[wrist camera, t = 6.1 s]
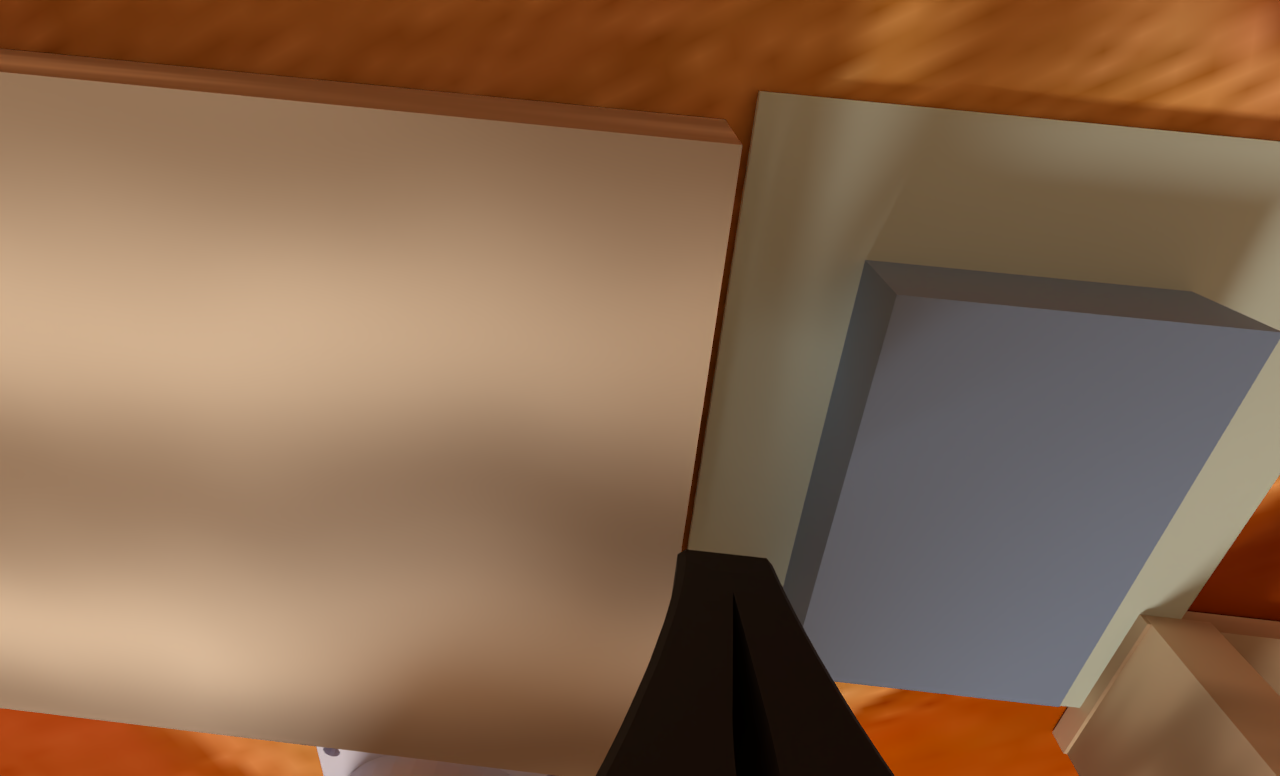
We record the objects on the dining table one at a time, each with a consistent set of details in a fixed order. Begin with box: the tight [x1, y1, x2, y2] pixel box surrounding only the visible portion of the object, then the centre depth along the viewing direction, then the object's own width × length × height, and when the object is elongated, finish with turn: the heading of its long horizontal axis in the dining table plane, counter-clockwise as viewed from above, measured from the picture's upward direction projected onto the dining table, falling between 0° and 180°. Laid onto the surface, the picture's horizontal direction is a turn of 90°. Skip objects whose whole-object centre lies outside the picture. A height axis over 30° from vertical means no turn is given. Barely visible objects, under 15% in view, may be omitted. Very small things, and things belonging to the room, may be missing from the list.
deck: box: [0, 48, 743, 776], centre depth 12 cm, size 13×16×4 cm
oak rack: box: [1052, 611, 1280, 776], centre depth 15 cm, size 5×6×4 cm
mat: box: [687, 91, 1280, 708], centre depth 14 cm, size 14×12×1 cm
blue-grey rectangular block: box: [783, 260, 1280, 707], centre depth 13 cm, size 9×6×2 cm, turn 175°
